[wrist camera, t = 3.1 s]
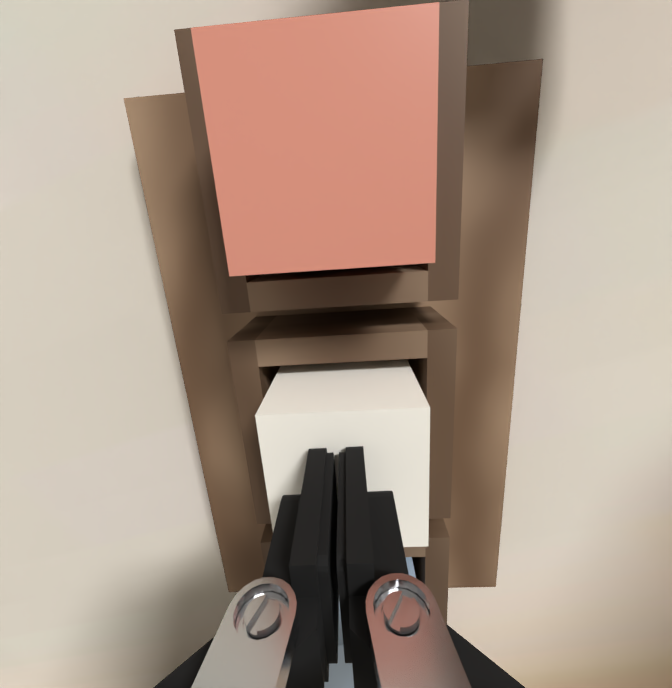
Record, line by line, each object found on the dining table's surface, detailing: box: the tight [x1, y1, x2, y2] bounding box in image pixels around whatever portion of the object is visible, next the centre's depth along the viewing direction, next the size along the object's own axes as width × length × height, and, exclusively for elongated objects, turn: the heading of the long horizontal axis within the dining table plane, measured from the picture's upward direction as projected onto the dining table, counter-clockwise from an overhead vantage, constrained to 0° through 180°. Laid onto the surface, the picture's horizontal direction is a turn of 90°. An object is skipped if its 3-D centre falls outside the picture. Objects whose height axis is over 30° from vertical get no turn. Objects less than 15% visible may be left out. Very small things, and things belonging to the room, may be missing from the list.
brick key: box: [191, 2, 439, 276], centre depth 10 cm, size 5×5×4 cm
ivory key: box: [255, 359, 430, 547], centre depth 12 cm, size 5×5×4 cm
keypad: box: [124, 0, 543, 624], centre depth 16 cm, size 16×26×6 cm, turn 4°
